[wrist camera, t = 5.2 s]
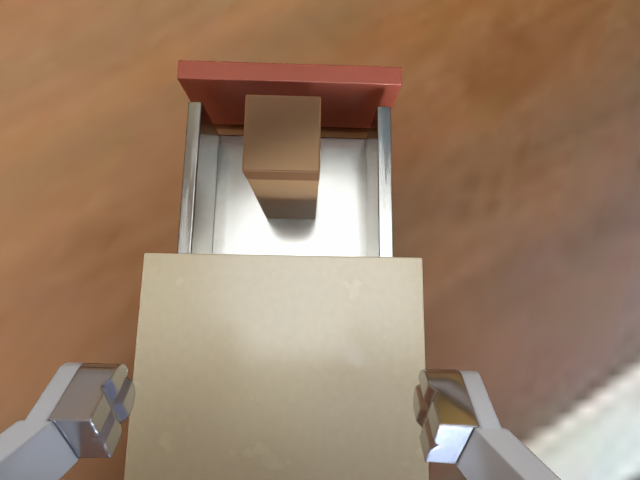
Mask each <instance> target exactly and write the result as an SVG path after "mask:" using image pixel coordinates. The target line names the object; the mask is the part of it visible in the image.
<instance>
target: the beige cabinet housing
mask: <svg viewBox="0 0 640 480" xmlns="http://www.w3.org/2000/svg"><path fill="white" fill-rule="evenodd" d="M421 370H425V338H424V305H423V273H422V258H411V257H353V256H295V255H237V254H179V253H145V254H144V263H143V274H142V285H141V296H140V307H139V318H138V329H137V340H136V351H135V362H134V373H133V384H134V386H135V400H134V405H133V408H132V410H131V413H130V417H129V428H128V439H127V450H126V461H125V472H124V480H429V468H428V462H425V460H424V455H423V451H422V446H421V442H420V434H421V431H422V427H421V426H420V425H419V424H418V423H417V422H416V419H415V414H414V406H413V394H414V390H415V387H416V386H417V385H419V384H420V382H419V378H418V377H419V373H420V371H421Z"/></svg>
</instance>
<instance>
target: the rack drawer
mask: <svg viewBox="0 0 640 480" xmlns="http://www.w3.org/2000/svg"><path fill="white" fill-rule="evenodd" d="M177 79H178V80H179V82H180V84H181V86H182V87H183V89H184V91H185V92H186V94H187V96H188V98H189V99H190V101H191V102H189V104H188V117H187V130H186V143H185V157H184V170H183V183H182V196H181V209H180V222H179V235H178V248H177V253H179V254H237V255H295V256H353V257H393V218H392V164H391V110H392V108H393V105H394V103H395V101H396V98H397V96H398V93H399V91H400V89H401V86H402V67H380V66H347V65H314V64H281V63H248V62H215V61H182V60H179V63H178V75H177ZM246 95H277V96H313V97H321V127H352V128H370V130H369V133H368V135H367V138H366V139H355V138H321V148H320V180H319V186H318V198H317V211H316V219H278V218H266V217H265V215H264V213H263V211H262V208H261V206H260V204H259V202H258V200H257V198H256V196H255V194H254V192H253V190H252V188H251V186H250V184H249V182H248V180H247V179H246V178H245V176H244V174H243V172H242V157H243V137H244V136H236V135H219V134H218V132H217V130H216V128H215V126H214V125H213V124H237V125H244V117H245V97H246Z"/></svg>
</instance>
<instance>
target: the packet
mask: <svg viewBox="0 0 640 480" xmlns="http://www.w3.org/2000/svg"><path fill="white" fill-rule="evenodd" d="M320 148H321V97H313V96H277V95H246V97H245V117H244V137H243V157H242V172H243V174H244V176H245V178H246V179H247V180H248V182H249V184H250V186H251V188H252V190H253V192H254V194H255V196H256V198H257V200H258V202H259V204H260V206H261V208H262V211H263V213H264V215H265V217H266V218H278V219H316V211H317V198H318V186H319V180H320Z"/></svg>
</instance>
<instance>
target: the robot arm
mask: <svg viewBox="0 0 640 480" xmlns="http://www.w3.org/2000/svg"><path fill="white" fill-rule="evenodd" d="M128 372H129V371H128V369H127V367H126V365H125V364H104V363H77V362H66V363H64V364H63V365H62V366H61V367H59V369H58V370H57V372H56V373H55V375H54V376H53V378H52V379H51V381H50V382H49V384H48V385H47V387H46V388H45V390H44V392H43V393H42V395H41V396H40V398H39V399H38V401H37V402H36V404H35V405H34V407H33V408H32V410H31V411H30V413H29V414H28V416H27V418H26V419H25V420H19V421H17V422H16V423H15V424H13V425H12V426H10V427H9V428H8V429H6V430H5V431H3V432H2V433H1V434H0V480H59V479H60V478H61V477H62V476H63V475H64V474H65V473H66V472H67V471H68V470H69V469H70V468H71V467H72V466H73V465H74V464H75V463H76V462H77V461H78V460H79V459H78V458H112V455H113V453H114V451H115V448H116V446H117V444H118V441H119V439H120V437H121V434H122V429H121V426H120V424H121V423H122V422H123V421H124V420H125V419H126V418H128V417H129V415H130V413H131V410H132V408H133V405H134V400H135V386H134V384H133V381H131V380H130V379H128V378H127V377H126V376H127V374H128ZM418 378H419V382H420V384H419V385H417V386H416V387H415V390H414V394H413V406H414V414H415V419H416V422H417V423H418V424H419V425H420V426H421V427H422V431H421V434H420V442H421V446H422V451H423V455H424V460H425V462H435V463H457V464H456V466H457V467H458V468H459V470H460V471H461V472H462V474H463V475H464V476H465V477H466V479H467V480H561V479H560V478H559V477H558V476H557V475H556V474H554V473H553V472H552V471H551V470H550V469H549V468H548V467H547V466H546V465H545V464H544V463H543V462H542V461H541V460H540V459H539V458H538V457H537V456H536V455H534V454H533V453H532V452H531V451H530V450H529V449H528V448H527V447H526V446H525V445H524V444H523V443H522V442H521V441H520V440H519V439H518V438H517V437H515V436H514V435H513V434H512V433H511V432H510V431H509V430H508V429H507V428H501V426H500V423H499V421H498V418H497V416H496V413H495V411H494V408H493V406H492V403H491V401H490V398H489V396H488V394H487V391H486V389H485V386H484V384H483V381H482V379H481V376H480V374H479V373H478V372H477V371H475V370H421V371H420V373H419V377H418Z"/></svg>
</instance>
